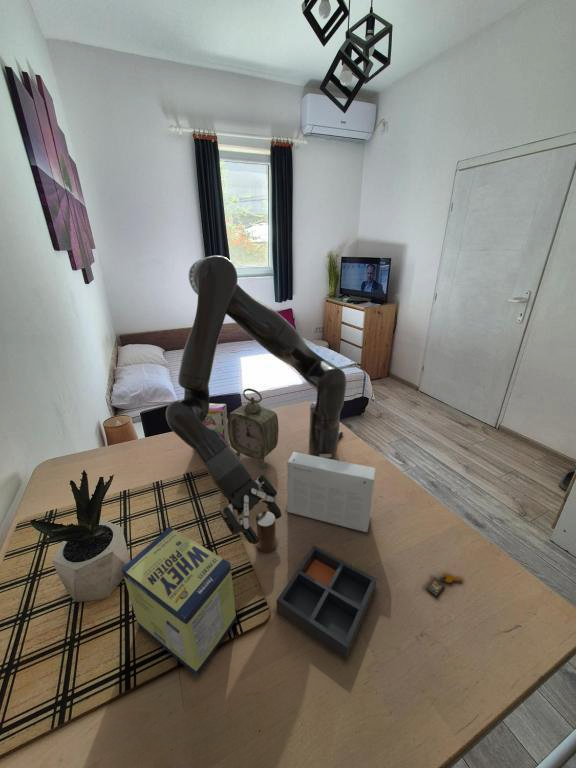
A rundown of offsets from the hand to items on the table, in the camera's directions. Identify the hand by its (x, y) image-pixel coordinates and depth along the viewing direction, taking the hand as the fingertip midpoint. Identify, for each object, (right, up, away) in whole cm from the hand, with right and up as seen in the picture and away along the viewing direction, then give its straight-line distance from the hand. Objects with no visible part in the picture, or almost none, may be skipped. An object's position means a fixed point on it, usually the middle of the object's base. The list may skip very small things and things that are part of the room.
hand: (268, 529), depth 74 cm
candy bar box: (-22, +11, +38) cm, 45 cm away
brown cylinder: (-1, -5, +2) cm, 5 cm away
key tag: (+37, -9, -7) cm, 39 cm away
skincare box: (+15, -1, +11) cm, 18 cm away
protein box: (-14, -12, -13) cm, 23 cm away
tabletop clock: (-6, +9, +33) cm, 35 cm away
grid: (+12, -10, -10) cm, 18 cm away
